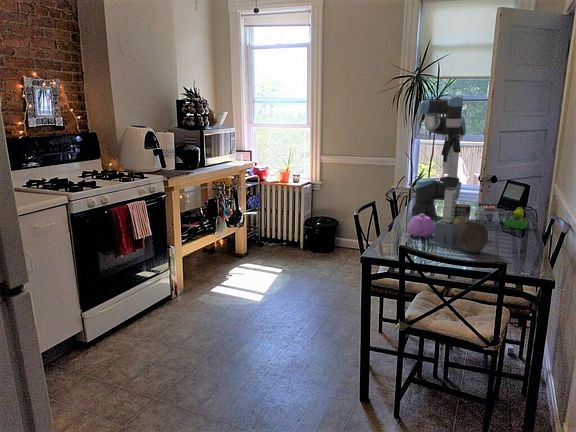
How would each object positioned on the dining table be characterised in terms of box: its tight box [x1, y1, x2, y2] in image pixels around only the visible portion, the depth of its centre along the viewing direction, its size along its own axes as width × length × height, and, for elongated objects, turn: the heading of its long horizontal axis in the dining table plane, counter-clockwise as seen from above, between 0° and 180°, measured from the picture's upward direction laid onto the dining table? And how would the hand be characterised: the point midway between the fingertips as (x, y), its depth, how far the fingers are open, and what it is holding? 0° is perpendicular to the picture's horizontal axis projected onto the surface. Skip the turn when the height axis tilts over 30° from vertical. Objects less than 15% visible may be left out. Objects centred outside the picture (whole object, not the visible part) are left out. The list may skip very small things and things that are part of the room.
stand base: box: [427, 218, 460, 250], centre depth 234 cm, size 12×16×13 cm
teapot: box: [407, 214, 435, 239], centre depth 245 cm, size 20×14×12 cm
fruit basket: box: [504, 206, 530, 230], centre depth 262 cm, size 11×9×11 cm
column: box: [442, 187, 457, 224], centre depth 231 cm, size 5×4×21 cm
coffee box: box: [453, 203, 472, 227], centre depth 249 cm, size 9×6×16 cm
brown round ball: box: [458, 220, 489, 254], centre depth 220 cm, size 14×14×15 cm
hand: (449, 165), depth 252 cm, fingers open, 13 cm apart
